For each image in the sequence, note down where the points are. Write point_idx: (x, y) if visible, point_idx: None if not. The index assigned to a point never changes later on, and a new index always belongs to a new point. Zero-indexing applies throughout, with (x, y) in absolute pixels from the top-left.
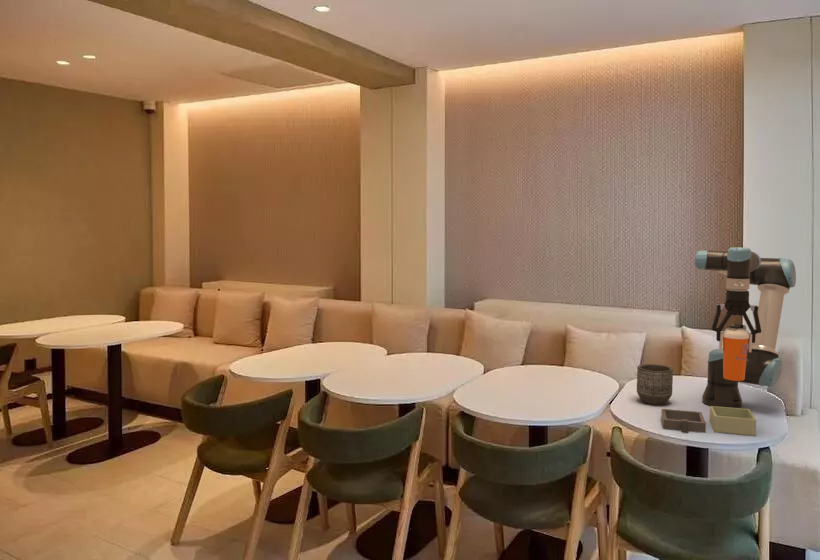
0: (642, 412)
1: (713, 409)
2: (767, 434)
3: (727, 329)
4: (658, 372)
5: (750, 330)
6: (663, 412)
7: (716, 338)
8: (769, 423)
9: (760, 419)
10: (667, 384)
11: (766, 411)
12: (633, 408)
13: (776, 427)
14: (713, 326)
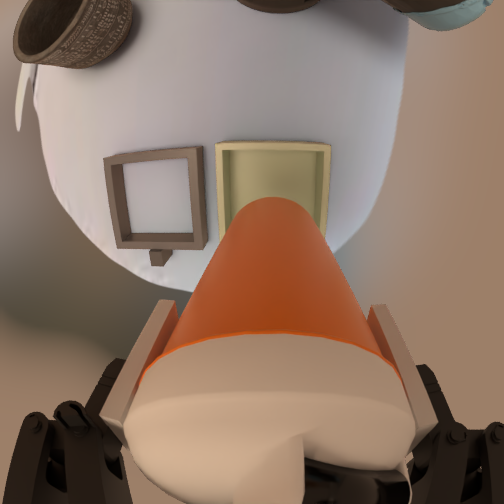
0: (80, 133)
1: (221, 181)
2: (347, 213)
3: (174, 497)
4: (48, 55)
5: (432, 461)
6: (109, 191)
7: (108, 378)
8: (375, 121)
9: (360, 89)
10: (96, 39)
11: (383, 22)
12: (65, 111)
13: (383, 152)
14: (55, 473)
